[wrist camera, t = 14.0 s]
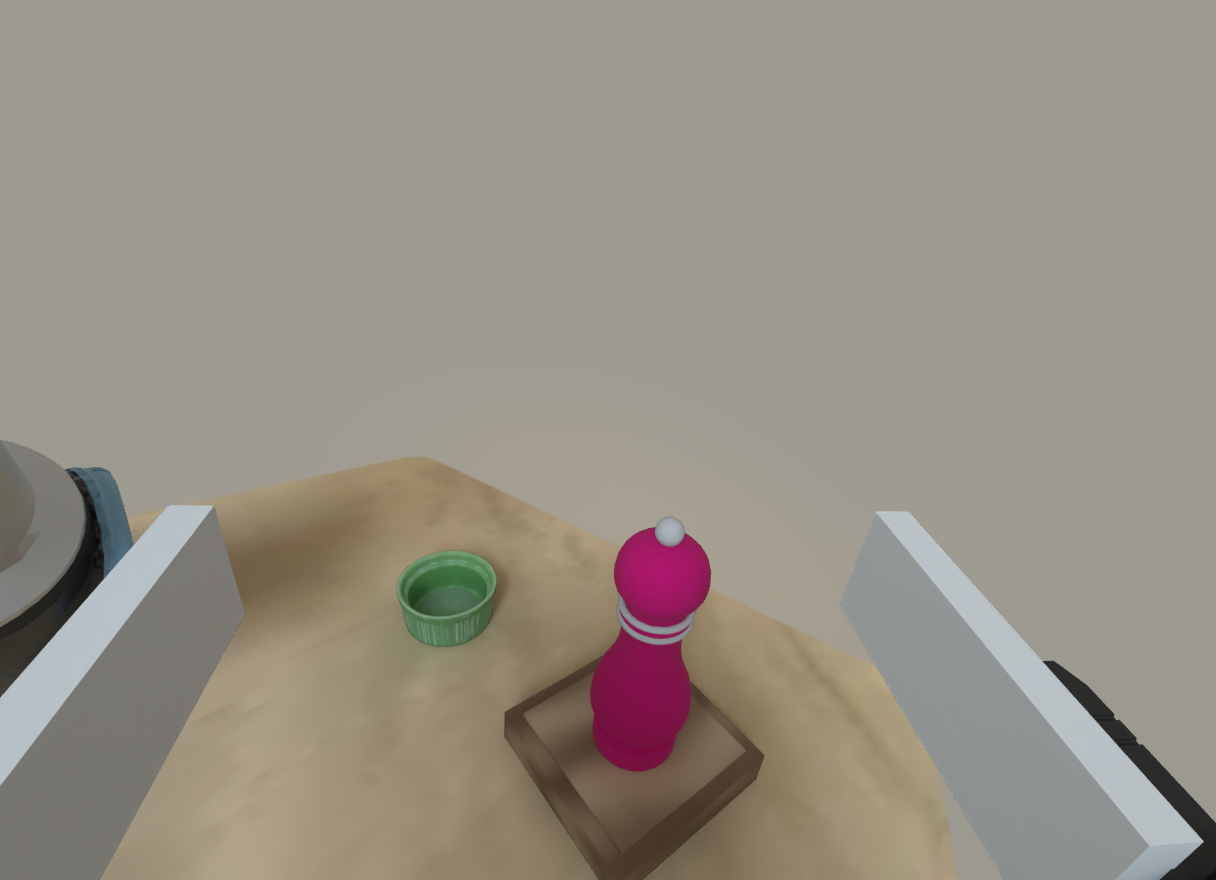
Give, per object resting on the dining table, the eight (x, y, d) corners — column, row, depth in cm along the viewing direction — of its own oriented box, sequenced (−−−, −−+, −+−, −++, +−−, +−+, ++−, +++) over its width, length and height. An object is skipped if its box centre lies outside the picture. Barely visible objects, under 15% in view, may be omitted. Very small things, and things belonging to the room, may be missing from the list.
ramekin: (506, 589, 61) (506, 556, 59) (482, 659, 54) (481, 624, 51) (420, 577, 62) (418, 544, 60) (384, 646, 54) (379, 610, 52)
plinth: (504, 736, 47) (504, 710, 46) (637, 656, 55) (642, 632, 54) (615, 904, 38) (620, 878, 37) (756, 779, 46) (765, 753, 45)
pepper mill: (650, 679, 49) (688, 476, 40) (700, 755, 44) (759, 542, 34) (570, 710, 46) (590, 498, 36) (613, 796, 41) (651, 574, 31)
